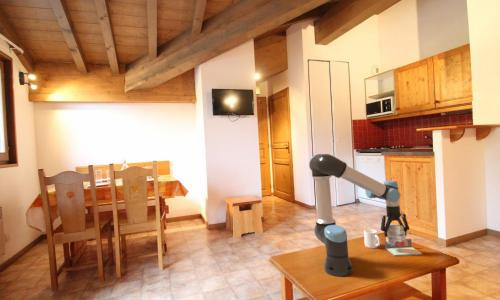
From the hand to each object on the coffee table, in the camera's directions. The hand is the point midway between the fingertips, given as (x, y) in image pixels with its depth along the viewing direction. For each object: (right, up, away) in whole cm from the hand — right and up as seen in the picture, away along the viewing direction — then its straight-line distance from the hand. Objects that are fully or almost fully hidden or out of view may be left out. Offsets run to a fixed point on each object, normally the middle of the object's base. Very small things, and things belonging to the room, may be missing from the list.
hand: (396, 241), depth 163 cm
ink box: (0, -2, 0) cm, 2 cm away
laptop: (+4, -6, 0) cm, 8 cm away
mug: (-9, -8, +11) cm, 16 cm away
